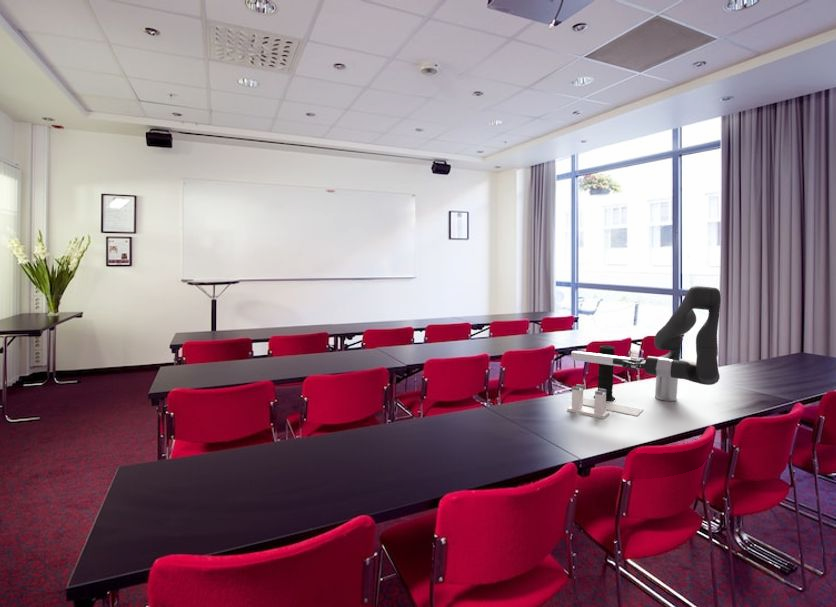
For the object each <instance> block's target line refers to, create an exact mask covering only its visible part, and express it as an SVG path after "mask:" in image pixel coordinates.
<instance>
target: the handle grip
mask: <svg viewBox="0 0 836 607" xmlns="http://www.w3.org/2000/svg"><path fill="white" fill-rule="evenodd" d="M615 349H616V348H615V347H614V346H611V345H608V344H607V345H600V346H599V351H598V354H605V355H613V356H615ZM614 367H615V366H613V365H606V364H599V363H598V377H597V390H596V391H599V388H601V389H606V401H611V402H615V401H616V400H615V399H616V398H615V396H613V389H614V387H613V386H614V384H613V383H614V369H615V368H614ZM593 398H594V399H595V395H594V396H593ZM614 400H615V401H614Z"/></svg>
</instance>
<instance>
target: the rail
mask: <svg viewBox="0 0 836 607" xmlns="http://www.w3.org/2000/svg"><path fill="white" fill-rule="evenodd" d="M570 353H571V355H570V358H571V359H570V360H572V361H578V362H585V363H592V364H593V363H594V364H598V365H599V364H606V365H613V366H614V367H621V368H623V367H622V365H617V364H613V359H621V360H629V359H631V358H629V357H630V356H629V357H627V356H622V355H621V356H620V355H619V356H618V355H614V356H613V355H605V354H599V353H596V352H587V351H581V350H580V351H579V350H573V351H571V352H570ZM626 365H627V363H626Z"/></svg>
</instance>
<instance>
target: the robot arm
mask: <svg viewBox="0 0 836 607" xmlns="http://www.w3.org/2000/svg"><path fill="white" fill-rule="evenodd" d="M721 298H722V296H721V291H720V290H719V288H716V287H710V286H701V285H695V286H691V287H690V288H689V289H688V290H687V292H686V294H685V296H684V297H683V299H682V301H681V303H680V304H679V306H678V307H677V309H676V310H675V311H674V313H673V314H672V315H671V316H670V318H669V319H668V321H667V322H666V324H664V325H663V327H661V328H660V329H659V330H658V331H657V333H655V337H654V341H653V344H654V347H655V348H656V349H658V350H660V351H669V352H668V353H665V354H663V355H660V356H653V355H652V356H651V355H648V356H646V357H645V358H646V359H645V358H644V357H633V356H629V358H631V359H629V360H621V359H613V364H617V365H622V367H621V368H625V369H630V370H633V371H637V370H640V371H641V370H644V373H645V374H646V375H649V376H655V390H654V391H655V394H654V398H655V397H656V398H655V399H658V400H660V401H665V402H675V401H677V394H678V381H679V379H680V380H687V381H689V382H692V383H696V384H700V385H707V386H711V385H715V384H717V383H718V382H719V380H720V373H719V372H720V371H719V366H718V365H719V364H718V354H719V352H718V350H719V348H718V330H719V329H718V328H719V321H720V311H721V302H722V301H721V300H722V299H721ZM695 309H696V310H705V311H706V310H707V311H708V316H707V319H706V321H705V322H704V323H703V325H702V326H701V328H700V329H699V330H698V332H697V334H696V337H695V351H696V353H695V354H696V362H695V364H691V363H689V362H688V361H685V360H684V361H683V360H680V358H681V349H682V341H683V340H682V335H684V334H686V333H688V332H689V331H691V329H692V328H693V327H694V326H695V324H696V323H697V315H696V313H695V311H694V310H695ZM626 363H627V365H626Z"/></svg>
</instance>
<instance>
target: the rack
mask: <svg viewBox="0 0 836 607" xmlns="http://www.w3.org/2000/svg"><path fill="white" fill-rule="evenodd" d="M571 391H572V392H571V405H570V406H569V407H568V408H567V412H570V411H572V412H571V413H575V412H576V414H579V413H580V415H585V416H588V415H589V417H593V418H597V417H598V419H602V420H605V419H606V418H607V417H609V416H610V411H608V410H605V408H606V389H601V388H599V391H597V390H595V391H594V396H595V398H594V400H595V406H594V407H589V406H587V407H586V406H584V405H583V398H584V385H583V384H579V383H578V384H577V383H576V385H575V386H571Z"/></svg>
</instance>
